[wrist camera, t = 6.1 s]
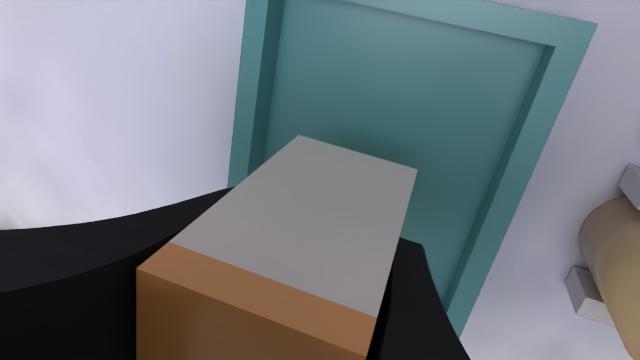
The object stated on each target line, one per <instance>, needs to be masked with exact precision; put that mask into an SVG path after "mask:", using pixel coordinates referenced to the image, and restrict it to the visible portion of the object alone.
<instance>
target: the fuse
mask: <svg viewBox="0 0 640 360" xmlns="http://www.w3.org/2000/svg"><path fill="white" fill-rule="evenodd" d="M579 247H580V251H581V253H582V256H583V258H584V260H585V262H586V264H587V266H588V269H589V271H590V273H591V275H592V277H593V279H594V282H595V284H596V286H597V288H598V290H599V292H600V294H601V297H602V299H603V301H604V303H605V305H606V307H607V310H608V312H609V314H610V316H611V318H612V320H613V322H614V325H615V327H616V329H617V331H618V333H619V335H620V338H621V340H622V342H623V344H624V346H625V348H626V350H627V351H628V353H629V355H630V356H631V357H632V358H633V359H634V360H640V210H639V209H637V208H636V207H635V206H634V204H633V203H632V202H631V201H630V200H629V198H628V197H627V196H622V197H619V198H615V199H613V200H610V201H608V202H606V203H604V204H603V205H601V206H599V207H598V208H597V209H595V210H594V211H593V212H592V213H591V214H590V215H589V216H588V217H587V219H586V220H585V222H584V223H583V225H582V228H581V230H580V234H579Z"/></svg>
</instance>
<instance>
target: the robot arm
mask: <svg viewBox="0 0 640 360" xmlns="http://www.w3.org/2000/svg"><path fill="white" fill-rule="evenodd" d="M235 187H236V186H235ZM235 187H230V188H226V189H223V190H219V191H216V192H212V193H209V194H206V195H202V196H199V197H196V198H192V199H189V200H185V201H182V202H179V203H175V204H172V205H168V206H164V207H160V208H156V209H152V210H148V211H144V212H140V213H136V214H132V215H127V216H122V217H117V218H111V219H105V220H99V221H93V222H87V223H80V224H70V225H60V226H50V227H41V228H29V229H11V230H0V360H136V268H137V267H139V266H140V265H141V264H142V263H143V262H145V261H146V260H147V259H148V258H150V257H151V256H152V255H153V254H154V253H156V252H157V251H158V250H159V249H161V248H162V247H163V246H164V245H165V244H167V243H168V242H169V241H170V240H171V239H173V238H174V237H175V236H176V235H178V234H179V233H180V232H181V231H182V230H184V229H185V228H186V227H187V226H189V225H190V224H191V223H192V222H193V221H195V220H196V219H197V218H198V217H199V216H201V215H202V214H203V213H204V212H206V211H207V210H208V209H209V208H210V207H212V206H213V205H214V204H215V203H216V202H218V201H219V200H220V199H221V198H223V197H224V196H225V195H226V194H227V193H229V192H230V191H231V190H232V189H234V188H235ZM366 360H471V359H470V358H469V356H468V354H467V353H466V351H465V349H464V347H463V346H462V344H461V342H460V340H459V338H458V336H457V334H456V332H455V330H454V328H453V326H452V324H451V322H450V320H449V318H448V316H447V314H446V311H445V309H444V307H443V304H442V302H441V299H440V297H439V294H438V292H437V289H436V287H435V284H434V281H433V278H432V275H431V272H430V269H429V265H428V262H427V258H426V253H425V249H424V247H423V245H422V244H420V243H417V242H413V241H410V240H407V239H404V238H401V237H399V240H398V243H397V247H396V251H395V254H394V258H393V262H392V265H391V269H390V273H389V276H388V280H387V284H386V287H385V291H384V295H383V298H382V302H381V305H380V309H379V313H378V316H377V320H376V324H375V327H374V331H373V335H372V338H371V342H370V346H369V349H368V353H367V356H366Z"/></svg>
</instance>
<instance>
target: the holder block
mask: <svg viewBox="0 0 640 360" xmlns="http://www.w3.org/2000/svg"><path fill="white" fill-rule="evenodd" d="M618 186H619V187H620V189H621V190H622V191H623V192H624V193H625V195H626V196H627V197H628V198H629V200H630V201H631V202H632V203H633V204H634V206H635V207H636V208H637V209H639V210H640V167H636V166H632V165H628V167H627V168H626V170H625V172H624V174H623V176H622V178H621V179H620V181H619V183H618ZM565 284H566V287H567V290H568V293H569V296H570V299H571V302H572V304H573V307H574V310H575V313H576V315H579V316H582V317H585V318H588V319H591V320H594V321H598V322H601V323H604V324H607V325H610V326H613V327H615V325H614V322H613V320H612V318H611V316H610V314H609V312H608V310H607V307H606V305H605V303H604V301H603V299H602V297H601V294H600V292H599V290H598V288H597V286H596V284H595V282H594V279H593V277H592V275H591V273H590V271H588V270H585V269H581V268H578V267H575V266H573V268H572V270H571V271H570V273H569V275H568V277H567V279H566V281H565Z"/></svg>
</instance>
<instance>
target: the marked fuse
mask: <svg viewBox="0 0 640 360" xmlns="http://www.w3.org/2000/svg"><path fill="white" fill-rule="evenodd" d="M417 171H418V169H414V168H411V167H408V166H404V165H401V164H397V163H394V162H390V161H387V160H383V159H380V158H377V157H373V156H370V155H366V154H363V153H359V152H356V151H353V150H349V149H346V148H342V147H339V146H335V145H332V144H329V143H325V142H322V141H318V140H315V139H311V138H308V137H304V136H301V135H298V136H297V137H296V138H294V139H293V140H292V141H291V142H289V143H288V144H287V145H286V146H285V147H283V148H282V149H281V150H280V151H279V152H277V153H276V154H275V155H274V156H272V157H271V158H270V159H269V160H268V161H266V162H265V163H264V164H263V165H262V166H260V167H259V168H258V169H257V170H255V171H254V172H253V173H252V174H251V175H249V176H248V177H247V178H246V179H244V180H243V181H242V182H241V183H240V184H238V185H237V186H236V187H235V188H234V189H232V190H231V191H230V192H229V193H227V194H226V195H225V196H224V197H223V198H221V199H220V200H219V201H218V202H216V203H215V204H214V205H213V206H212V207H210V208H209V209H208V210H207V211H206V212H204V213H203V214H202V215H201V216H199V217H198V218H197V219H196V220H195V221H193V222H192V223H191V224H190V225H189V226H187V227H186V228H185V229H184V230H182V231H181V232H180V233H179V234H178V235H176V236H175V237H174V238H173V239H171V240H170V241H169V242H168V243H167V244H165V245H164V246H163V247H162V248H161V249H159V250H158V251H157V252H156V253H154V254H153V255H152V256H151V257H150V258H148V259H147V260H146V261H145V262H143V263H142V264H141V265H140V266H139V267H137V268H136V360H366V356H367V353H368V349H369V346H370V342H371V338H372V335H373V331H374V327H375V324H376V320H377V316H378V313H379V309H380V305H381V302H382V298H383V295H384V291H385V287H386V284H387V280H388V276H389V273H390V269H391V265H392V262H393V258H394V254H395V251H396V247H397V243H398V240H399V236H400V233H401V229H402V225H403V222H404V218H405V214H406V211H407V207H408V203H409V200H410V196H411V192H412V189H413V185H414V181H415V178H416V174H417Z"/></svg>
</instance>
